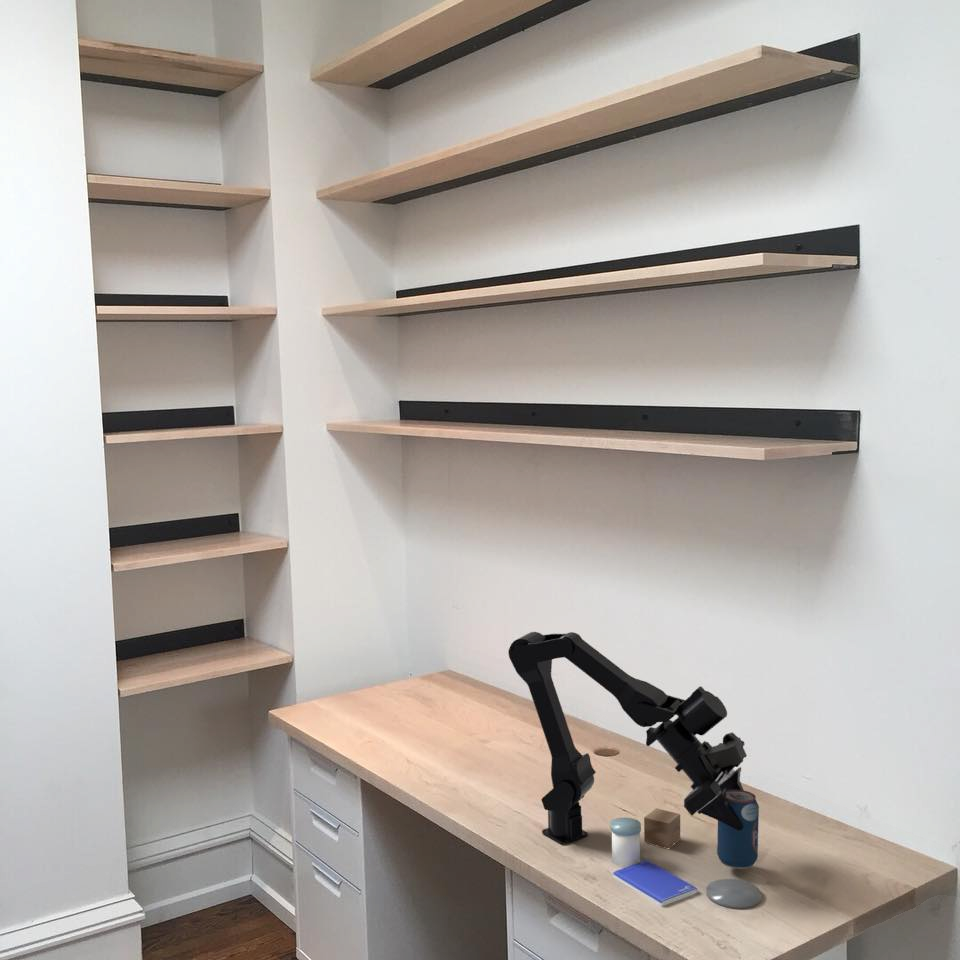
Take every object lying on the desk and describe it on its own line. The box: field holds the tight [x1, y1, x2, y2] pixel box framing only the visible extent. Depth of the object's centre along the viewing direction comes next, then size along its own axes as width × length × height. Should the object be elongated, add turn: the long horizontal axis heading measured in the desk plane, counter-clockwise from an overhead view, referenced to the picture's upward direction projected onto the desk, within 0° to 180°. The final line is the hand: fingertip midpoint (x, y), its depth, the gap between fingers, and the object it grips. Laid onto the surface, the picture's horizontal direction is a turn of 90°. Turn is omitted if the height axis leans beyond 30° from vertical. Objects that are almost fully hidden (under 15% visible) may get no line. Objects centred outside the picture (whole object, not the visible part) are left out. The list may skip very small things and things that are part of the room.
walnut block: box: [643, 807, 681, 849], centre depth 195 cm, size 5×5×5 cm
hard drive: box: [612, 860, 699, 907], centre depth 178 cm, size 2×8×12 cm
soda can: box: [716, 789, 760, 870], centre depth 182 cm, size 7×7×12 cm
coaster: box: [706, 878, 763, 910], centre depth 174 cm, size 9×9×1 cm
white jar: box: [610, 817, 642, 868], centre depth 187 cm, size 5×5×7 cm
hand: (746, 821), depth 181 cm, fingers closed on soda can, 7 cm apart
